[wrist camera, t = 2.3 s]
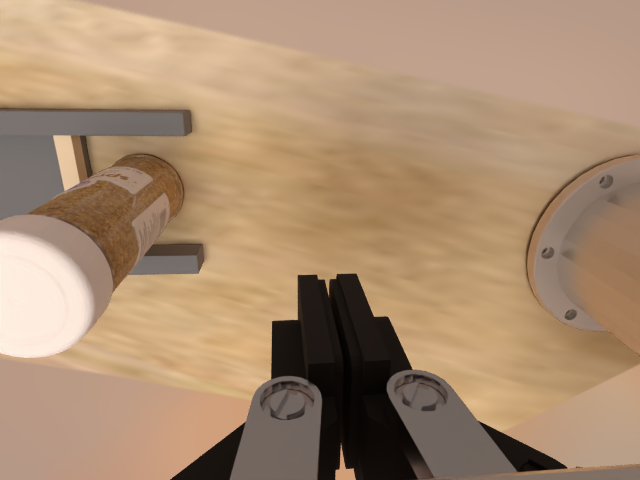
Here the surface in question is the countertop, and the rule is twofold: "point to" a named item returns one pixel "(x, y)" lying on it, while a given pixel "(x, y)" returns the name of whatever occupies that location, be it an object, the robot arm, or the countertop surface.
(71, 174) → the tray
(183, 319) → the countertop surface
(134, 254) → the sprinkles bottle
